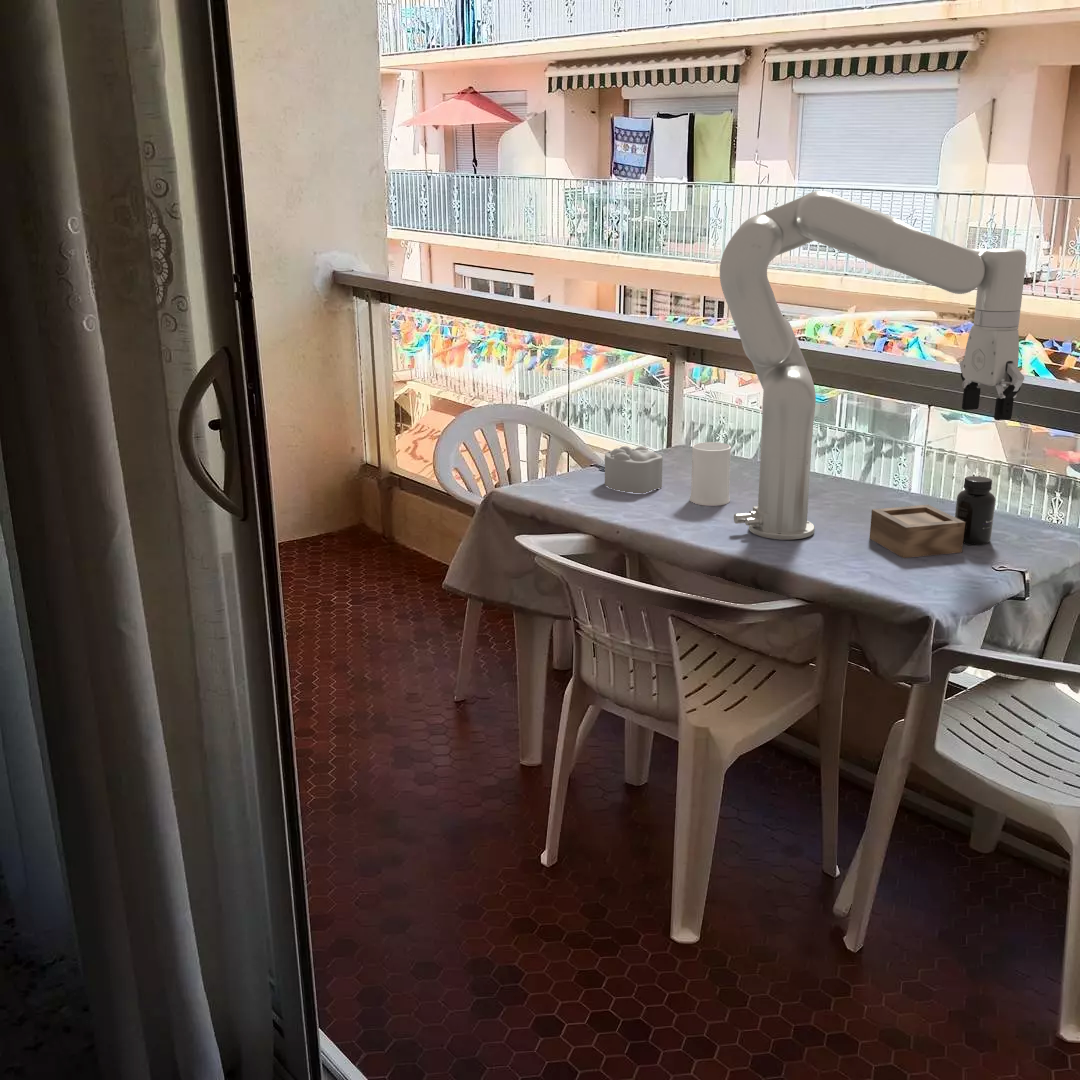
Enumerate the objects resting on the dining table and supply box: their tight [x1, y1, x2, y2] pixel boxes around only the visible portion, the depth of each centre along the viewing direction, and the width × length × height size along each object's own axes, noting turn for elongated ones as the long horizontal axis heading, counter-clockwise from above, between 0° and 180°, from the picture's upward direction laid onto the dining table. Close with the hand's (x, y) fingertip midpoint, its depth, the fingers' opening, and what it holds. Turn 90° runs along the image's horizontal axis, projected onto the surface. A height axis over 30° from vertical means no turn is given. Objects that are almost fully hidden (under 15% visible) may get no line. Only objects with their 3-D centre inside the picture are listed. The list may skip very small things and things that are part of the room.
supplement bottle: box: [954, 475, 996, 546], centre depth 209 cm, size 7×7×12 cm
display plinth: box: [868, 504, 965, 559], centre depth 207 cm, size 12×12×6 cm
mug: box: [689, 441, 732, 507], centre depth 238 cm, size 12×8×12 cm
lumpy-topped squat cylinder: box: [604, 445, 664, 493], centre depth 250 cm, size 10×13×9 cm
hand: (985, 414), depth 204 cm, fingers open, 9 cm apart
